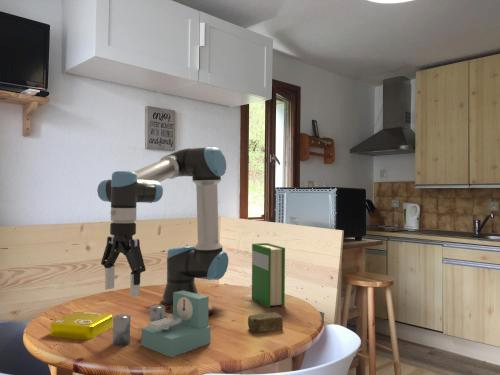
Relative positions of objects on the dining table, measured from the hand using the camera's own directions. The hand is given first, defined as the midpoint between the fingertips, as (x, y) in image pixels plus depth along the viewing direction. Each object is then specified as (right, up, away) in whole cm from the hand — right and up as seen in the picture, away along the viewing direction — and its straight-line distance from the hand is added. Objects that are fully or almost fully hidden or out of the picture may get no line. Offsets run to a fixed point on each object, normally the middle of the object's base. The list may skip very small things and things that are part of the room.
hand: (121, 292), depth 126 cm
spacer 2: (+8, -16, +11) cm, 21 cm away
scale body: (+17, -16, -1) cm, 23 cm away
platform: (+14, -10, -4) cm, 18 cm away
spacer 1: (0, -15, 0) cm, 15 cm away
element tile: (-17, -16, +11) cm, 26 cm away
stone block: (+44, -17, +14) cm, 49 cm away
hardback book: (+46, -17, +51) cm, 71 cm away
